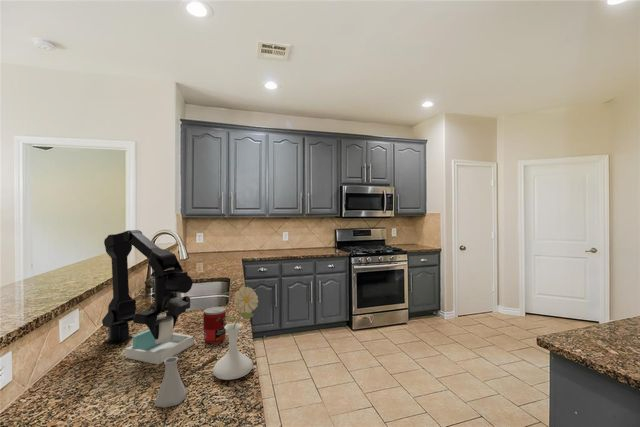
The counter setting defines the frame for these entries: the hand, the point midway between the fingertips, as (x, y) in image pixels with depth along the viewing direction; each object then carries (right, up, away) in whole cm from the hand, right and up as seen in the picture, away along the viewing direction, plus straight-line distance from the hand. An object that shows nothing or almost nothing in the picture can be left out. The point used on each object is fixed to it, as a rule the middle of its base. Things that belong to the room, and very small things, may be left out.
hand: (163, 335), depth 100 cm
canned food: (+14, -6, +10) cm, 18 cm away
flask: (+16, -5, -27) cm, 32 cm away
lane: (-3, -5, +1) cm, 6 cm away
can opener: (+18, -6, -9) cm, 21 cm away
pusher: (-6, -5, +2) cm, 7 cm away
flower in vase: (+29, -5, -14) cm, 33 cm away
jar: (0, -2, 0) cm, 2 cm away
